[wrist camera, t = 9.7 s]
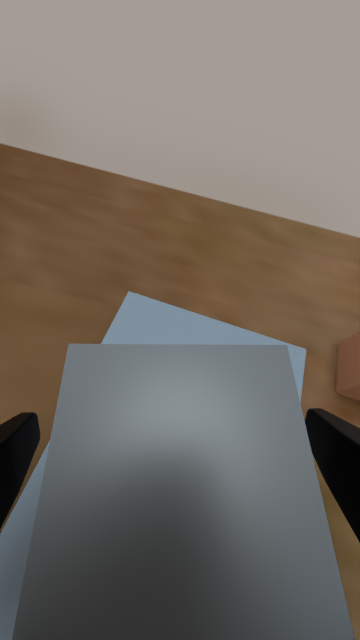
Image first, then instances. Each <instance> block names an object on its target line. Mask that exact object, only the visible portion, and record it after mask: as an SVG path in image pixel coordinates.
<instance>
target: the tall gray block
mask: <svg viewBox="0 0 360 640" xmlns="http://www.w3.org/2000/svg"><path fill="white" fill-rule="evenodd" d="M12 640H355V638H354V633H353V629H352V625H351V620H350V616H349V612H348V607H347V603H346V599H345V594H344V590H343V586H342V581H341V577H340V573H339V568H338V564H337V559H336V555H335V551H334V546H333V542H332V538H331V533H330V529H329V525H328V520H327V516H326V512H325V507H324V503H323V499H322V494H321V490H320V486H319V481H318V477H317V473H316V468H315V464H314V460H313V455H312V451H311V447H310V442H309V438H308V434H307V429H306V425H305V421H304V416H303V412H302V408H301V403H300V399H299V395H298V390H297V386H296V382H295V377H294V373H293V369H292V364H291V360H290V356H289V351H288V347H287V345H201V344H69V345H68V350H67V355H66V360H65V365H64V371H63V376H62V381H61V386H60V391H59V397H58V402H57V407H56V412H55V417H54V423H53V428H52V433H51V438H50V443H49V449H48V454H47V459H46V464H45V469H44V475H43V480H42V485H41V490H40V495H39V501H38V506H37V511H36V516H35V521H34V527H33V532H32V537H31V542H30V547H29V553H28V558H27V563H26V568H25V573H24V579H23V584H22V589H21V594H20V599H19V605H18V610H17V615H16V620H15V625H14V631H13V636H12Z"/></svg>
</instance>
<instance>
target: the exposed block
mask: <svg viewBox="0 0 360 640" xmlns="http://www.w3.org/2000/svg"><path fill="white" fill-rule="evenodd" d="M336 393H338V394H341V395H343V396H346V397H349V398H352V399H355V400H358V401H360V332H359V333H357V334H356V335H354V336H352V337H351V338H349V339H347V340H346V341H344V342H342V343H341V344H339V345H338V361H337V378H336Z"/></svg>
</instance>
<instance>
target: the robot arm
mask: <svg viewBox="0 0 360 640" xmlns="http://www.w3.org/2000/svg"><path fill="white" fill-rule="evenodd" d="M305 425H306V429H307V434H308V438H309V442H310V447H311V451H312V453H313V456H314V458H315V460H316V462H317V465H318V467H319V469H320V471H321V473H322V475H323V477H324V480H325V481H326V483H327V485H328V487H329V489H330V491H331V492H332V494H333V496H334V498H335V500H336V501H337V503H338V505H339V507H340V508H341V510H342V512H343V514H344V516H345V517H346V519H347V521H348V523H349V524H350V526H351V528H352V530H353V531H354V533H355V535H356V537H357V539H358V540H359V542H360V428H358V427H356V426H354V425H352V424H351V423H349V422H347V421H345V420H343V419H341V418H339V417H337V416H335V415H333V414H331V413H329V412H327V411H325V410H323V409H320V408H311V409H308V411H307V414H306V419H305ZM39 440H40V429H39V422H38V417H37V414H36V413H34V412H24V413H20V414H19V415H17V416H15V417H13V418H12V419H10V420H8V421H6V422H4V423H3V424H1V425H0V528H1V526H2V524H3V522H4V520H5V518H6V517H7V515H8V513H9V511H10V509H11V507H12V505H13V503H14V501H15V499H16V497H17V495H18V493H19V491H20V488H21V486H22V484H23V481H24V479H25V476H26V474H27V471H28V468H29V466H30V463H31V461H32V458H33V456H34V453H35V451H36V448H37V446H38V443H39Z"/></svg>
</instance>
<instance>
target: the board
mask: <svg viewBox="0 0 360 640" xmlns="http://www.w3.org/2000/svg"><path fill="white" fill-rule="evenodd" d="M101 344H201V345H287V347H288V351H289V356H290V360H291V364H292V369H293V373H294V377H295V382H296V386H297V390H298V395H299V399H300V403H301V394H302V385H303V375H304V366H305V357H306V349H304V348H301V347H298V346H294V345H291V344H288V343H285V342H282V341H279V340H276V339H273V338H270V337H267V336H264V335H261V334H258V333H255V332H252V331H249V330H246V329H243V328H240V327H236V326H233V325H230V324H227V323H224V322H221V321H218V320H215V319H212V318H209V317H206V316H203V315H200V314H197V313H194V312H191V311H188V310H185V309H181V308H178V307H175V306H172V305H169V304H166V303H163V302H160V301H157V300H154V299H151V298H148V297H145V296H142V295H139V294H136V293H133V292H130V291H129V292H128V294H127V296H126V298H125V300H124V301H123V303H122V305H121V307H120V309H119V311H118V313H117V315H116V317H115V318H114V320H113V322H112V324H111V326H110V328H109V330H108V332H107V334H106V335H105V337H104V339H103V341H102V343H101ZM49 443H50V441H49ZM49 443H48V445H47V447H46V449H45V451H44V452H43V454H42V456H41V458H40V460H39V462H38V464H37V466H36V468H35V469H34V471H33V473H32V475H31V477H30V479H29V481H28V483H27V485H26V486H25V488H24V490H23V492H22V494H21V496H20V498H19V500H18V501H17V503H16V505H15V507H14V509H13V511H12V513H11V515H10V517H9V518H8V520H7V522H6V524H5V526H4V528H3V530H2V532H1V534H0V640H12V636H13V631H14V625H15V620H16V615H17V610H18V605H19V599H20V594H21V589H22V584H23V579H24V573H25V568H26V563H27V558H28V553H29V547H30V542H31V537H32V532H33V527H34V521H35V516H36V511H37V506H38V501H39V495H40V490H41V485H42V480H43V475H44V469H45V464H46V459H47V454H48V449H49Z"/></svg>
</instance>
